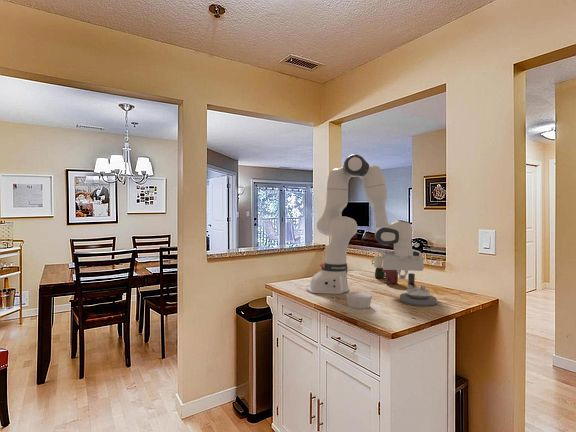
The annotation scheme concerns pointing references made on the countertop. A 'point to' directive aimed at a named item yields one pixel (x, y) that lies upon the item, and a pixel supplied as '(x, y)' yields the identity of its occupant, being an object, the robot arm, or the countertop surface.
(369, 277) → the countertop surface
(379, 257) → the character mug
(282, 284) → the countertop surface
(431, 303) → the base
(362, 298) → the ramekin
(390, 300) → the countertop surface
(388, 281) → the mechanical component
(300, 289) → the countertop surface
